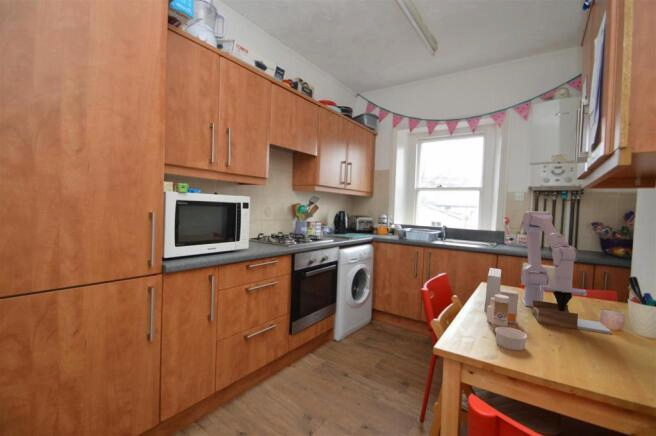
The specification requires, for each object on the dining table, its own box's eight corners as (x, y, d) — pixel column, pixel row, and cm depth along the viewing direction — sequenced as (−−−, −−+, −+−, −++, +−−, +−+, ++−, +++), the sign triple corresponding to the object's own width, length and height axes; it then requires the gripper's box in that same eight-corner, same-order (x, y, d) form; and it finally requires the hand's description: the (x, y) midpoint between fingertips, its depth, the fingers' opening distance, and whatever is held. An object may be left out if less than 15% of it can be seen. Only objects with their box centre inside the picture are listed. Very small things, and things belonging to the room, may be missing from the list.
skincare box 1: (498, 314, 124) (500, 276, 123) (484, 311, 126) (486, 275, 126) (499, 301, 142) (501, 268, 141) (487, 298, 144) (488, 267, 144)
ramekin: (532, 348, 93) (532, 335, 93) (517, 354, 89) (517, 340, 89) (503, 337, 101) (504, 324, 101) (488, 342, 97) (489, 329, 96)
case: (532, 313, 125) (532, 300, 125) (566, 318, 120) (567, 304, 120) (538, 323, 114) (539, 308, 114) (577, 329, 109) (578, 314, 109)
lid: (567, 321, 119) (568, 317, 119) (599, 325, 115) (599, 322, 115) (576, 330, 110) (576, 326, 110) (611, 335, 106) (611, 331, 106)
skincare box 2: (498, 321, 115) (500, 291, 115) (498, 317, 119) (499, 288, 119) (516, 324, 113) (518, 293, 112) (515, 320, 116) (517, 291, 116)
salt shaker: (493, 320, 116) (494, 296, 116) (502, 324, 112) (503, 299, 112) (485, 321, 115) (487, 297, 114) (494, 325, 111) (495, 300, 111)
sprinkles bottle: (493, 334, 103) (495, 296, 102) (492, 329, 107) (493, 293, 106) (508, 336, 101) (510, 298, 100) (506, 331, 105) (508, 295, 105)
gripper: (543, 276, 115) (541, 310, 116) (590, 281, 109) (588, 317, 110) (539, 273, 121) (537, 305, 122) (583, 277, 115) (581, 311, 116)
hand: (561, 310), depth 116 cm, fingers closed
